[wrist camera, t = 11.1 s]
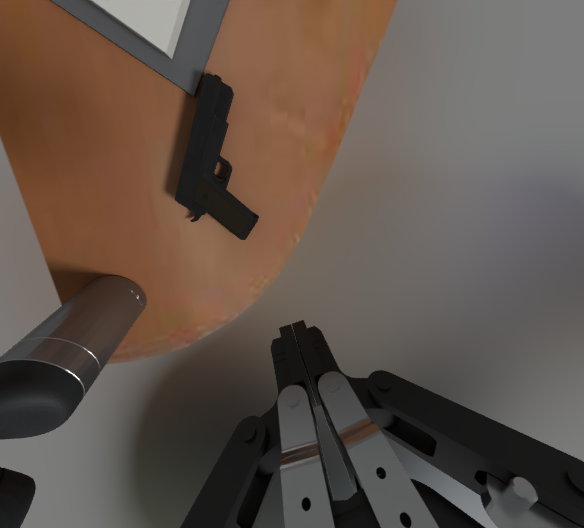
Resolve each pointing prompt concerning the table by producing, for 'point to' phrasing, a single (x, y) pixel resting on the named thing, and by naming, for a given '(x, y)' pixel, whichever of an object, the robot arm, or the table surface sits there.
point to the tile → (150, 19)
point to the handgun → (212, 163)
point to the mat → (180, 69)
